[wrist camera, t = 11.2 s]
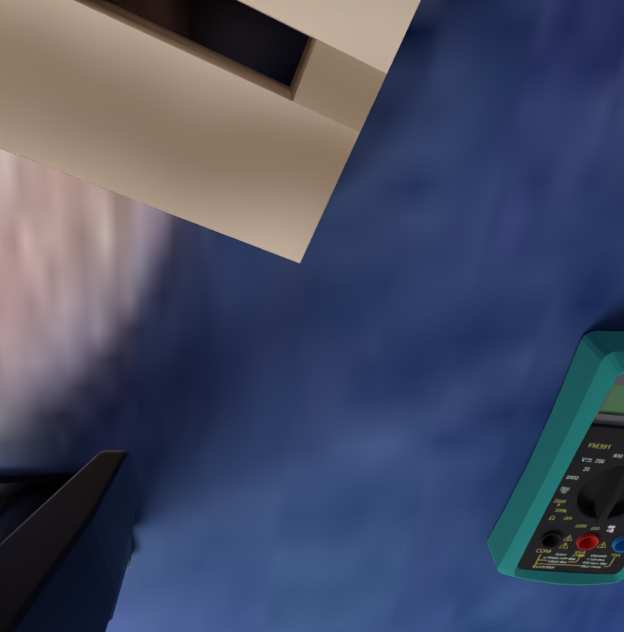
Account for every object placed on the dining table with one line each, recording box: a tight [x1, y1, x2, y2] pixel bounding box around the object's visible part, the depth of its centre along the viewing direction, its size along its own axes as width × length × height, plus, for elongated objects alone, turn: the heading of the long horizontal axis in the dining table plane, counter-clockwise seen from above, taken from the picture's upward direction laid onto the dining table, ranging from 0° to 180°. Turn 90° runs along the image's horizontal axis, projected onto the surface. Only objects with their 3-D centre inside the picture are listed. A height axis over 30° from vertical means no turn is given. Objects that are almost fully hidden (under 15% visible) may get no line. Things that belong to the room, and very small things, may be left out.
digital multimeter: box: [487, 331, 624, 585], centre depth 26 cm, size 7×15×3 cm, turn 171°
